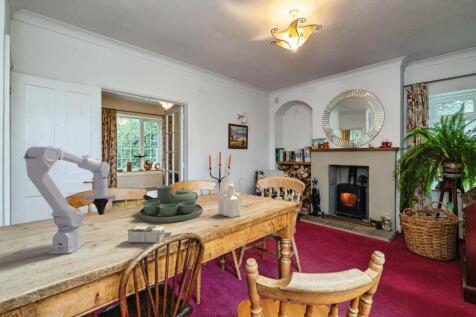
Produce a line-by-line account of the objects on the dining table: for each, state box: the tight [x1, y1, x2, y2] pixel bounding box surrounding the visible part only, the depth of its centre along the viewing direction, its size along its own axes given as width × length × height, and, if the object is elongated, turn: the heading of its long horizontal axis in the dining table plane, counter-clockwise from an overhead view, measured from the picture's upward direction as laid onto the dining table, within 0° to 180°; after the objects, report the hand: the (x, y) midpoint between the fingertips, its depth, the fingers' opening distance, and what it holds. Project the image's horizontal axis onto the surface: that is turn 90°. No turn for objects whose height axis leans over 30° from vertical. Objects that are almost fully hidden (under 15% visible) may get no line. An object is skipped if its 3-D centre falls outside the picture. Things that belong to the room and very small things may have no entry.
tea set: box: [138, 185, 204, 224], centre depth 151 cm, size 40×40×16 cm
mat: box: [130, 232, 172, 245], centre depth 109 cm, size 12×15×1 cm
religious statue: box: [217, 167, 251, 218], centre depth 150 cm, size 17×14×30 cm
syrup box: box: [127, 225, 165, 243], centre depth 105 cm, size 6×6×14 cm
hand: (101, 214), depth 112 cm, fingers closed
